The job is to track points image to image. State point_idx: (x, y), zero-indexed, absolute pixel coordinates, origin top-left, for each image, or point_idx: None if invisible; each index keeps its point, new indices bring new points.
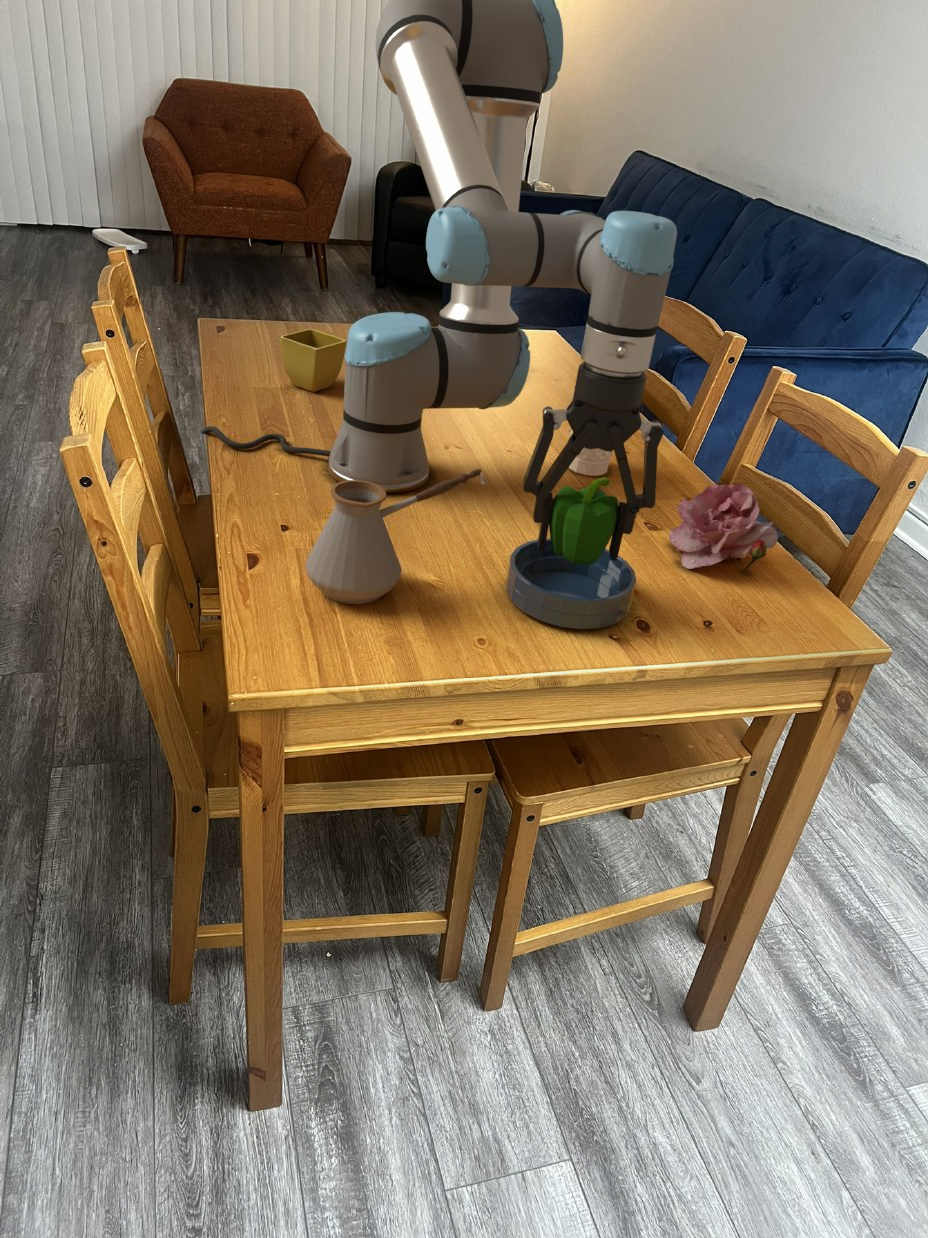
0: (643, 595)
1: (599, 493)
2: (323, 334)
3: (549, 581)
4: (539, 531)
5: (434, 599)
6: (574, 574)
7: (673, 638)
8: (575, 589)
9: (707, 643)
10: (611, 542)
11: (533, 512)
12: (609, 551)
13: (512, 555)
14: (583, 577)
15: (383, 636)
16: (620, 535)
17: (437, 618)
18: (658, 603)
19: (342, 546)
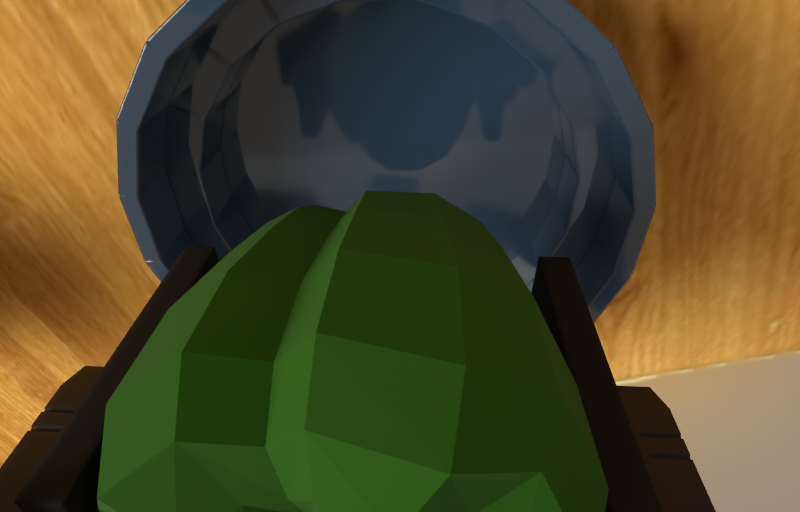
0: (701, 76)
1: None
2: None
3: (322, 98)
4: (165, 283)
5: (21, 245)
6: (425, 7)
7: (683, 299)
8: (420, 134)
9: (779, 304)
10: (543, 314)
11: (59, 394)
12: (535, 278)
13: (126, 196)
14: (463, 29)
15: (13, 380)
16: None
17: (75, 315)
18: (738, 123)
19: None
